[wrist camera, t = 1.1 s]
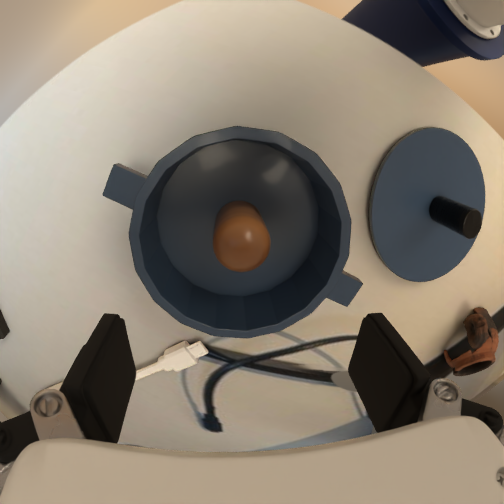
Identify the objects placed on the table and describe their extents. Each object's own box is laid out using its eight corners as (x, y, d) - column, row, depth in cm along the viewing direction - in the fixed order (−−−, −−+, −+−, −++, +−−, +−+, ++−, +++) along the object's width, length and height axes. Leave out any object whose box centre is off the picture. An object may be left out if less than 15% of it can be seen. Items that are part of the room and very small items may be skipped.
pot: (169, 89, 21) (152, 74, 15) (376, 200, 26) (410, 217, 20) (103, 248, 25) (76, 275, 20) (294, 329, 30) (307, 367, 24)
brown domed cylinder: (228, 192, 24) (228, 211, 17) (270, 213, 25) (286, 240, 18) (207, 233, 25) (200, 267, 18) (248, 252, 26) (256, 291, 19)
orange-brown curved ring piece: (489, 322, 35) (498, 367, 30) (441, 338, 40) (446, 383, 34) (495, 286, 28) (510, 341, 23) (436, 306, 33) (445, 362, 28)
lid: (412, 94, 22) (456, 89, 16) (493, 184, 26) (531, 197, 19) (335, 238, 27) (365, 267, 20) (433, 296, 30) (464, 325, 24)
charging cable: (216, 352, 31) (216, 371, 28) (54, 413, 33) (48, 427, 30) (191, 320, 30) (189, 339, 26) (33, 393, 32) (25, 406, 29)
